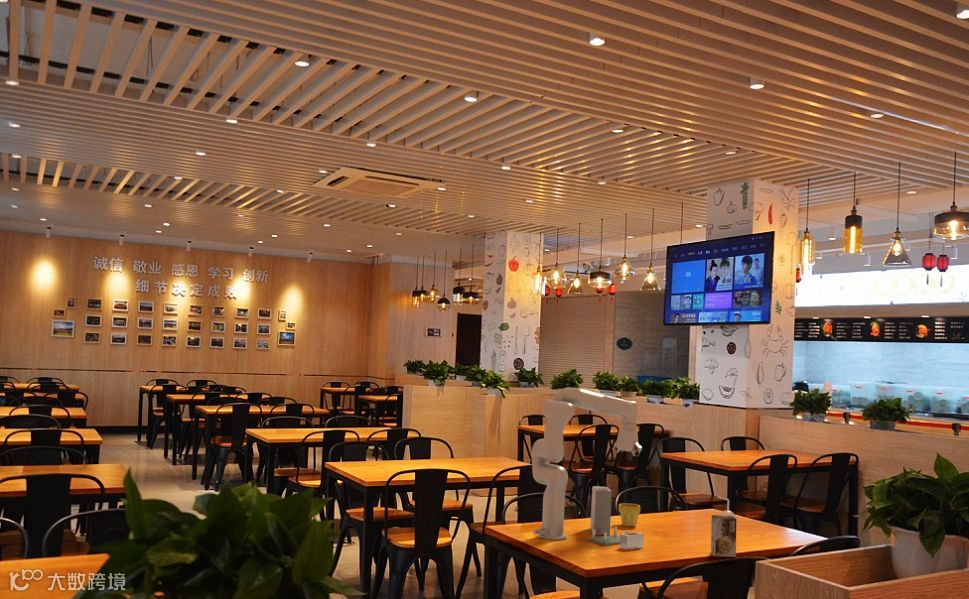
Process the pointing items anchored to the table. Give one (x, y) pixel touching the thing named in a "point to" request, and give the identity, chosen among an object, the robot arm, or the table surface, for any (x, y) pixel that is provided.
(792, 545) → the table surface
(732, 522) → the coffee box
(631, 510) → the plant pot
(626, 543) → the white open box
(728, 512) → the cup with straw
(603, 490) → the hard drive box
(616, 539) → the pin tray
